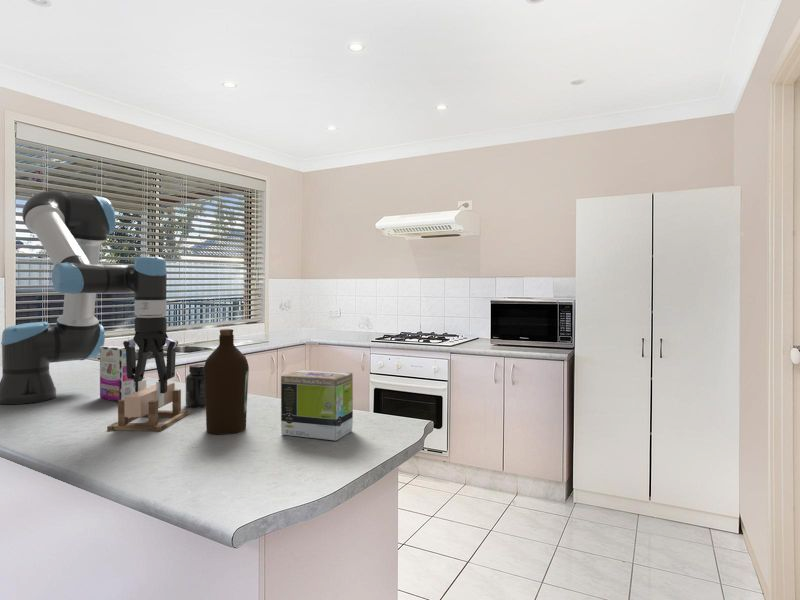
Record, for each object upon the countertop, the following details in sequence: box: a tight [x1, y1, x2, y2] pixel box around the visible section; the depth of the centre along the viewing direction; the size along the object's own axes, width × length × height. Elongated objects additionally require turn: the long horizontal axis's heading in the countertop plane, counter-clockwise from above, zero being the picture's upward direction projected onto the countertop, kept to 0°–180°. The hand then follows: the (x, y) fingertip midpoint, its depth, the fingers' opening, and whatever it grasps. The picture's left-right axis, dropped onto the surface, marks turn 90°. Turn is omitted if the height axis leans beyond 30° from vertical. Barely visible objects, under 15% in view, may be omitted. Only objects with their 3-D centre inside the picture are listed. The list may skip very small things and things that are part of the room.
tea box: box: [280, 369, 354, 442], centre depth 125 cm, size 15×10×15 cm, turn 71°
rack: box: [106, 388, 191, 432], centre depth 133 cm, size 17×13×7 cm
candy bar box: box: [99, 345, 135, 402], centre depth 158 cm, size 11×5×16 cm, turn 61°
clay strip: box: [124, 382, 176, 418], centre depth 133 cm, size 18×4×5 cm, turn 179°
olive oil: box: [204, 328, 250, 435], centre depth 127 cm, size 11×11×25 cm
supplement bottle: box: [185, 363, 206, 409], centre depth 151 cm, size 7×7×12 cm
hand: (151, 405), depth 133 cm, fingers closed on clay strip, 4 cm apart
